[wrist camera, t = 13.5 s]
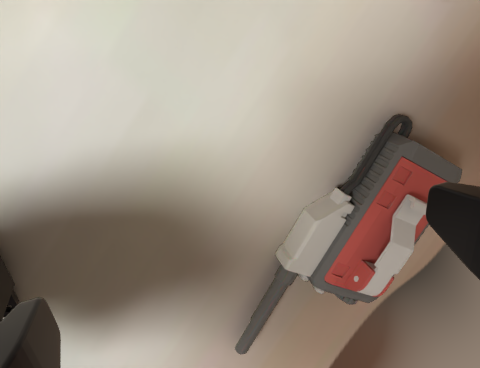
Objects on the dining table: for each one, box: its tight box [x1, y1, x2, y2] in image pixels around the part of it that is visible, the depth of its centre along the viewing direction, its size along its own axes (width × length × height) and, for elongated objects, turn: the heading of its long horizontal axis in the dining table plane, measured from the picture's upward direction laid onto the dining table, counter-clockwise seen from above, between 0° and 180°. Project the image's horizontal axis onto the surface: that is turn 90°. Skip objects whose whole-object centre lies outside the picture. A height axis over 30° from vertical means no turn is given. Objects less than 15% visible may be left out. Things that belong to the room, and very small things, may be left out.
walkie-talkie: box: [235, 114, 462, 354], centre depth 25 cm, size 9×4×20 cm
